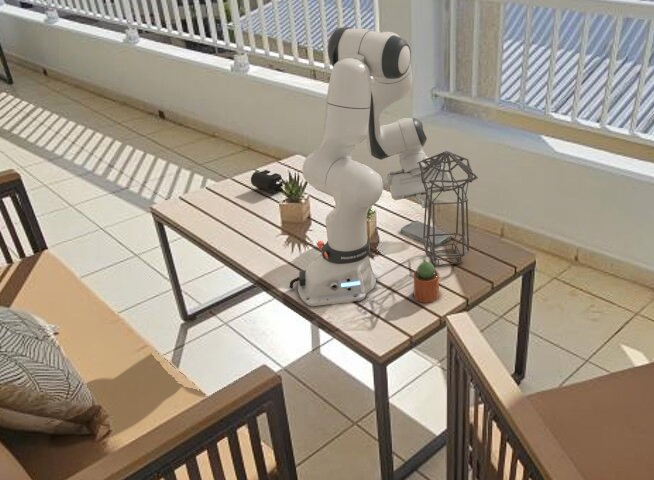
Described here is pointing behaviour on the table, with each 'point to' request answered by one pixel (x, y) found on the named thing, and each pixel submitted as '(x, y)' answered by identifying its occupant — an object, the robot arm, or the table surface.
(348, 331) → the table surface
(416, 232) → the phone
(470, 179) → the geometric lantern
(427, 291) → the succulent pot
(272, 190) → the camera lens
